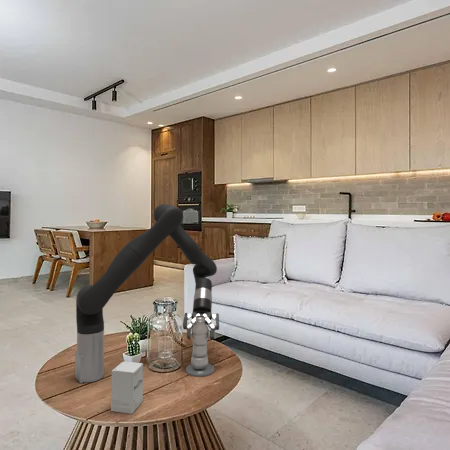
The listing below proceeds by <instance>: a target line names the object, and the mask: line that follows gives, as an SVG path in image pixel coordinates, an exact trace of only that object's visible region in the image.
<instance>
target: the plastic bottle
mask: <svg viewBox="0 0 450 450" xmlns="http://www.w3.org/2000/svg"><path fill="white" fill-rule="evenodd" d="M195 322H196V323H195V325H194V326H193V328H192V329H191V336H192V337H191V338H192V354H191V358H190V364H191V365H192V367H193V368H194V369H204V368H206V367H207V365H208V363H209V356H208V339H209V338H208V337H209V331H210V330H209V329H210V328H209V327H208V326H207V325H206V324H205V316H203V315H199V316H196V320H195Z"/></svg>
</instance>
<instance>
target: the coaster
mask: <svg viewBox="0 0 450 450" xmlns="http://www.w3.org/2000/svg"><path fill="white" fill-rule="evenodd" d="M185 367H186V368H185V372H186V374H187V375H188V376H192V377H197V378H199V377H202V378H203V377H207V376H210V375H212V374H214V372H215V366H214V365H213V364H211V363H210V362H208V365H207V367H206V368H204V369H194V368H193V367H192V365H191V363H190V364H188V365H187V366H185Z"/></svg>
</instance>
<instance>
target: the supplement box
mask: <svg viewBox="0 0 450 450" xmlns="http://www.w3.org/2000/svg"><path fill="white" fill-rule="evenodd" d="M110 390H111V395H110V397H111V398H110V401H111V402H110V404H111V405H110V411H111V412H116V413H122V414H123V413H124V414H130V415H133V414H134V412H135V411H136V410H137V409H138V407H140V406H141V404H142V403H143V399H144V397H143V395H144V394H143V393H144V391H143V390H144V363H142V362H133V361H132V362H131V361H122V362H120V363H119V364H118V365H117V366H115V367H114V368H113V369H112V370H111V388H110Z"/></svg>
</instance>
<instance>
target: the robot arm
mask: <svg viewBox="0 0 450 450" xmlns="http://www.w3.org/2000/svg"><path fill="white" fill-rule="evenodd" d="M153 218H154V221H155V223H154V224H153V225H152V226H151V227H150V228H149V229H148V230H146V231H145V232H143V233H142V234H140V235H138V236H136V237H134V238H132V239H131V240H130V241H129V242H127V244H125V245H124V246H123V248H121V250H119V252H117V254H116V255H115V257H114V258H113V259H112V261H111V263H110V265H109V266H108V267H107V270H106V271H105V272H104V274H103V275H102V276H101V277H100V278H98V280H97V281H96V282H95V283H93V285H92V284H89V285H85V286H84V287H81V289H79V291H78V292H77V294H76V300H75V303H76V304H75V307H76V308H75V310H76V312H75V313H76V317H75V318H76V319H75V321H76V351H74V378H75V379H76V380H77V381H78V382H79V384H83V382H84V383H94V382H97V381H99V380H101V379H102V378H104V375H105V373H104V372H105V365H104V364H105V356H104V355H105V321H104V315H103V314H104V312H103V309H104V307H106V305H107V304H108V302H109V301H110V300H111V298H112V296H113V295H114V294H115V293H116V291H117V290H118V289H119V288H120V287H121V285H123V284H124V283H125V282H126V281H127V280H128V279H129V278H130V277H131V275H133V274H134V273H135V272H136V271H137V270H138V268H139V267H141V265H142V264H143V263H144V262H145V261H146V260H147V259H148V257H149V256H150V255H151V254H152V253H153V252H154V251H155V250H156V249H157V248H158V246H160V244H162V242H163V241H164V240H165V239H166V238H167V237H169V236H170V238H171V239H172V240H173V241H174V242H175V244H176V245H177V246H178V248H179V249H180V250H181V252H182V253H183V255H184V256H185V258H186V259H187V260H188V262H189V263H190V264H192V265H193V268H192V273H193V277H194V283H195V286H194V287H195V288H194V290H195V291H194V296H193V304H192V313H188V312H184V315H183V321H182V328H183V330H186V339H187V340H189V341H190V340H191V338H192V337H191V336H192V328H193V326H194V325H195V323H196V322H195V320H196V316H199V315H203V316H205V324H206V325H207V327H208V329H210V335H209V336H210V338H209V339H210V341H212V340H214V339H215V331H219V330H220V314H219V313H217V312H216V313H215V314H212V309H213V308H212V306H213V294H212V293H213V292H212V291H213V290H212V288H213V281H212V280H211V279H210V278H209V277H213V276H214V275H216V274H217V271H218V269H217V268H218V267H217V264H216V262H215V261H214V260H213V259H212V258H210V257H209V256H208V255H207V254H206V253H204V251H202V249H201V247H200V246H199V244H198V243H197V242H196V241H195V240H194V239H193V237H192V236H190V235H189V234H188V232H186V230H185V229H184V227H183V226H181V224H182V222H183V219H184V214H183V210H182V209H181V208H179V207H177V206H175V205H172V204H168V203H162V204H159V205H158V206H156V208H155V209H154V211H153ZM190 319H191V320H190ZM212 319H214V320H213V321H215V325H214V323H212ZM189 320H190V323H189V324H188V321H189Z"/></svg>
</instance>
